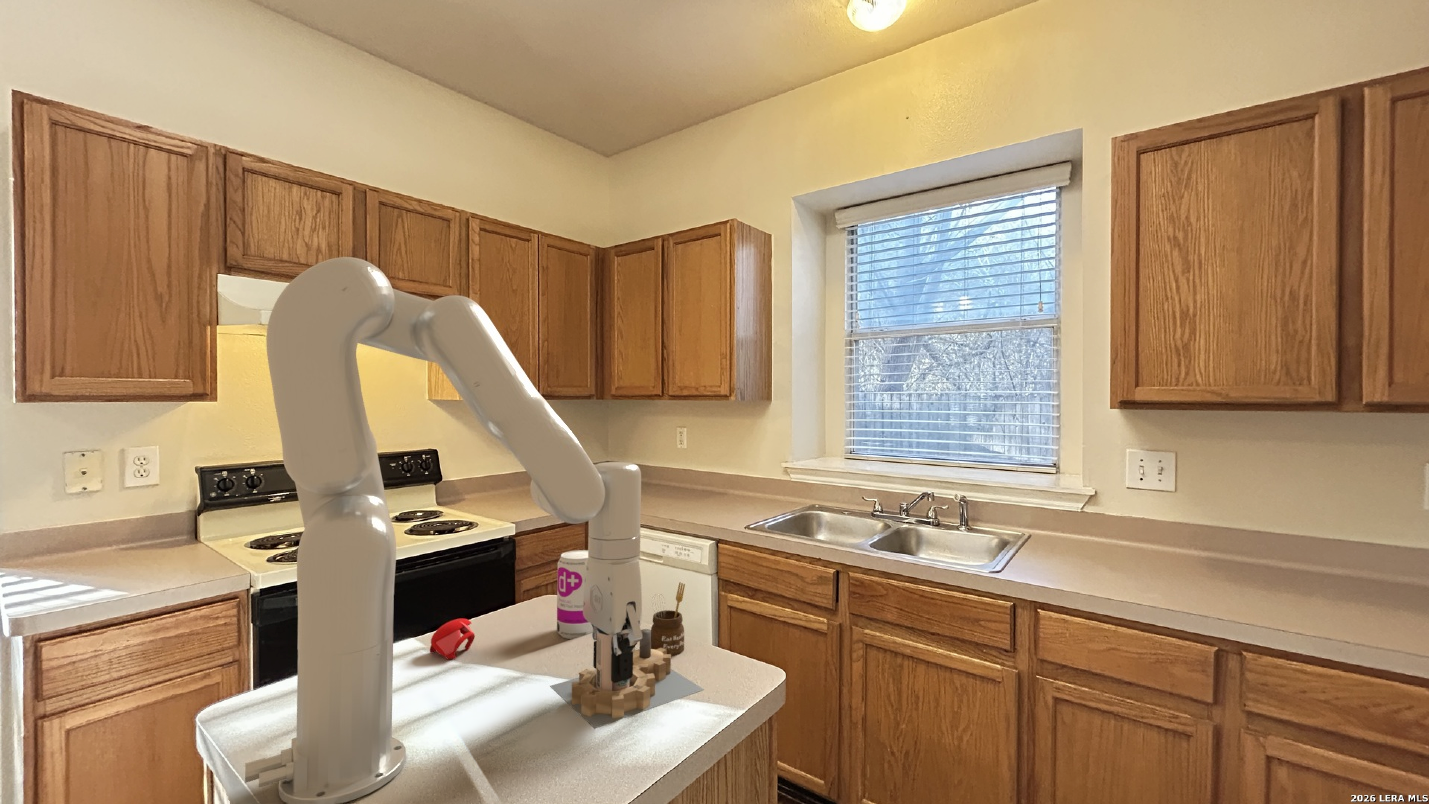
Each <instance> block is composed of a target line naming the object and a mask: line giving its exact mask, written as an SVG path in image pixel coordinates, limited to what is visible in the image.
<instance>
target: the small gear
mask: <svg viewBox="0 0 1429 804" xmlns="http://www.w3.org/2000/svg"><path fill="white" fill-rule="evenodd" d="M641 632H642V639H641V640H640V641H639V649H636V648H635V651H633V664H637V665H639V667H640V666H641V671H642V672H643V673H645V674H651V673H654V676H655V680H657V681H661V680H663V679H666V674H671V669H672V667H671V666H672V656H671V654H667V650H666V649H663V648H659V649H656V650H655V649H651V629H648V628H645V629H644V628H642V629H641Z"/></svg>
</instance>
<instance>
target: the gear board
mask: <svg viewBox="0 0 1429 804" xmlns="http://www.w3.org/2000/svg"><path fill="white" fill-rule="evenodd" d="M578 681H579V677H576V678H573V679H569V680H566V681H565V680H564V681H562V682H559V683H554V684H552V685H549V687H550V688H551V689H552V690H553V691H554V692H556V694H558V696H560V697H561V698H562V699H563V700H564V701H565V702H566V703H567V704H568V705H569V706H570V707H571V708H573V710H575V711H576V712H577V714H579V715H580V716H581V717H582V718H583V719H584V720H585V721H586V722H587V723H589V724H590V726H592V728H594V729H597V728H600V727H603V726H605V725H609V724H611V723H614V722H617V721H619V720H623V719H625V718H629V717H631V716H635V715H637V714H640V713H642V712H645V711H648V710H651V709H654V708H657V707H660V706H662V705H666V704H669V703H671V702H674V701H677V700H680V699H683V698H685V697H688V696H691V695H694V694H697V693H699V692H703V691H705V689H704V688H703V687H701V686H699V685H698V684H696V683H695V682H693V681H691V679H689V678H687V677H685V676H683V675H682V674H680V673H678V672H677V671H675V670H674V669H672V668H671V674H666V679H663V680H661V681H657V680H655V695H651V696H650V706H648V707H647V708H646V709H644V710H641V709H638V708H635V709H632V710H629V711H626V712H624V717H620V718H612V715H611V714H603V713H595V714H594V715H592V716H591V717H589V716H586V715H583V714H581V704H576V705H572V682H578Z"/></svg>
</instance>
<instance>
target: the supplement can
mask: <svg viewBox="0 0 1429 804" xmlns="http://www.w3.org/2000/svg"><path fill="white" fill-rule="evenodd" d="M587 560H588V549H583V550H580V549H579V550H570V551H565V552H562V553H561V554H560V558H559V559H558V562H557V584H556V585H557V586H556V587H557V590H556V591H557V592H556V596H557V597H556V601H557V602H556V632H557V633H558V634H559V636H561V637H562V638H564V639H568V640H574V639H578V638H581V637H583V636H587V635H590V634H592V633H593V627H592V624H591V623H590V622H588V621H587V620H586V619H585V618H584V616H583V598H584V583H585V573H586V566H587Z"/></svg>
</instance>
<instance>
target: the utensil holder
mask: <svg viewBox="0 0 1429 804" xmlns="http://www.w3.org/2000/svg"><path fill="white" fill-rule="evenodd" d="M678 583H679V584H678V587H677V591H676V595H675V600H676V607H675V610H672V609H671V610H670V609H669V610H667V609H665V607H662V610H659V608H658V607H655V608H652V610H653V612H654V614H653V616H652V623H653V624H652V625H651V627H650V630H651V649H655V650H656V649H659V648H663V649H666V650H667V654H671V657H674V656H678V655H680V654H682V653H683V652H684V651H685V628H684V625H683V614H682V613H681V612H680V611H679V608H680V607H679V606H680V604H681V603H682V601H683V598H684V594H685V593H684V592H685V587H686V584H685V583H683V582H682V583H681V581H680V582H678ZM656 596H657V597H659V599H661V596H662V597H663V600H666V599H665V597H664V595H663V594H662V593H656V594H655V595H653V597H652V599H651V600H652V601H651V603H652V606H657V605H656V602H657V604H659V603H660V606H661V602H662V604H667V603H666V601H661V602H658V600H656V602H655V599H656ZM655 609H656V610H657V611H656V610H655Z"/></svg>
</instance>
